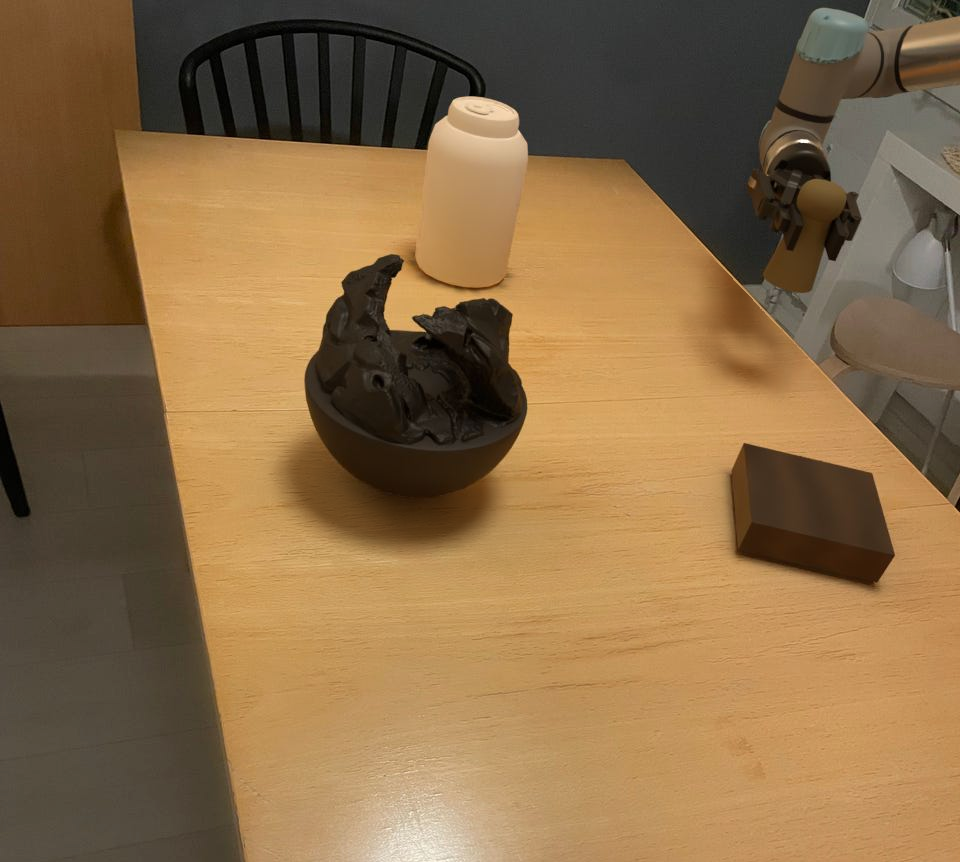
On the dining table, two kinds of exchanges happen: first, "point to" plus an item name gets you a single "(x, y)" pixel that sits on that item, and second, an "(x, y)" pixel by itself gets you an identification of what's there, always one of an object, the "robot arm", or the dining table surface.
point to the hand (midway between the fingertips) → (816, 243)
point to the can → (471, 193)
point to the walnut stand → (809, 515)
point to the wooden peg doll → (807, 237)
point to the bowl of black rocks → (414, 390)
